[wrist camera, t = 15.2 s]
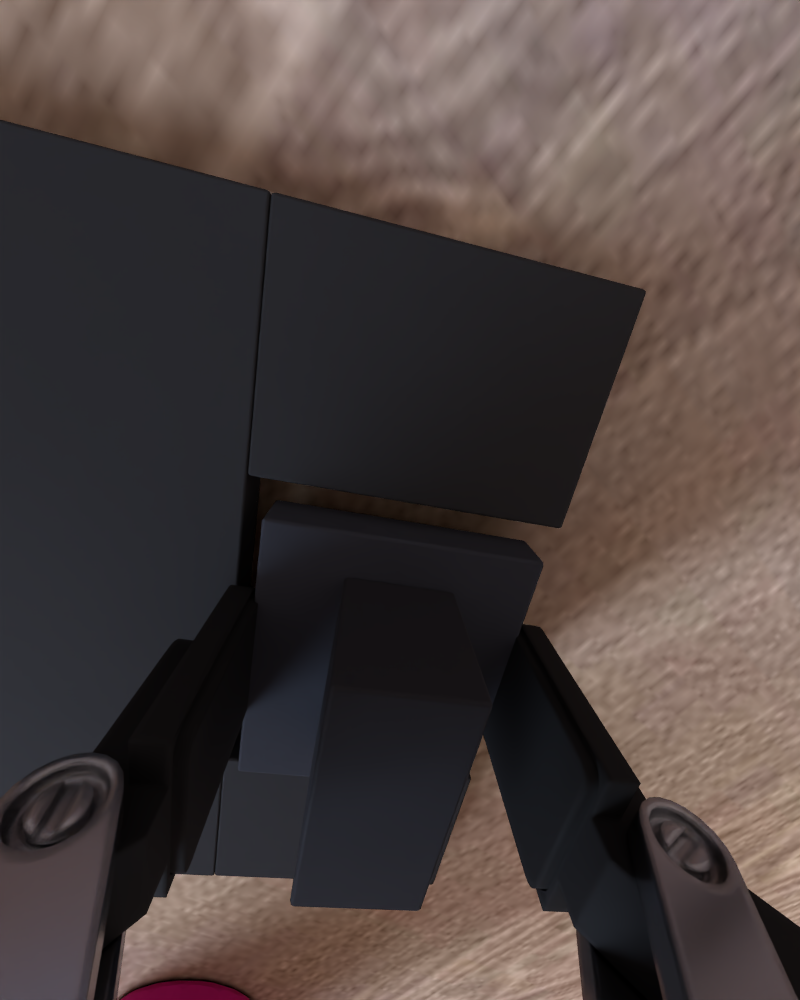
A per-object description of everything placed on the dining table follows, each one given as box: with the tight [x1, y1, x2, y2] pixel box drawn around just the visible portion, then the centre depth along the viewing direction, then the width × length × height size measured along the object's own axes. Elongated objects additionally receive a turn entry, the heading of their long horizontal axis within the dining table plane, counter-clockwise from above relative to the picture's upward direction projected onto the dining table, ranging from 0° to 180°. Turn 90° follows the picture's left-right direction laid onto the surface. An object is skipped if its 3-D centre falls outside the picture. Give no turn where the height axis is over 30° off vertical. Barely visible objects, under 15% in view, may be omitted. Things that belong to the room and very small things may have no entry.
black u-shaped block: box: [0, 120, 646, 885], centre depth 10 cm, size 18×14×1 cm
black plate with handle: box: [238, 500, 543, 911], centre depth 8 cm, size 7×6×4 cm
